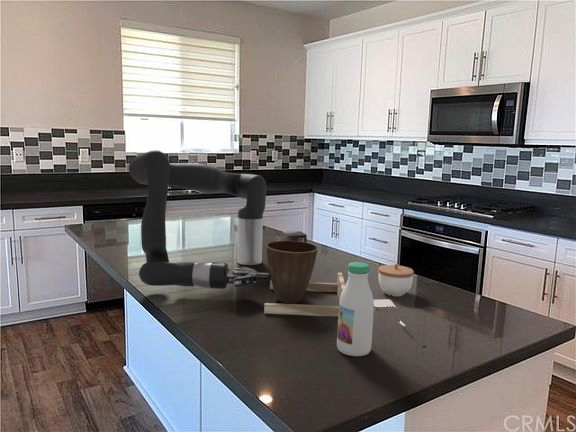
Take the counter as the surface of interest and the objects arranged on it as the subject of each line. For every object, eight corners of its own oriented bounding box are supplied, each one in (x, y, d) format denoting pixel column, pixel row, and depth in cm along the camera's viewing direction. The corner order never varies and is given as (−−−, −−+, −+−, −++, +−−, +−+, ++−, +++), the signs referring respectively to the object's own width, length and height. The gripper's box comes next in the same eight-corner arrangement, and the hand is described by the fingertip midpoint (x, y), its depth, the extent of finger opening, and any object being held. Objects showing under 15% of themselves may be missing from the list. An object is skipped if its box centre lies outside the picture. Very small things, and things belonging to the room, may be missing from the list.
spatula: (390, 304, 136) (390, 299, 136) (436, 348, 107) (436, 342, 107) (370, 304, 135) (370, 299, 135) (411, 349, 106) (412, 343, 106)
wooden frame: (270, 288, 145) (270, 269, 144) (340, 291, 144) (341, 272, 143) (264, 313, 124) (264, 292, 123) (346, 317, 123) (348, 295, 122)
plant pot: (261, 306, 128) (265, 250, 125) (264, 289, 143) (267, 238, 140) (315, 309, 128) (319, 253, 126) (312, 292, 143) (316, 242, 140)
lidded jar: (370, 289, 147) (372, 260, 146) (399, 286, 151) (401, 258, 150) (389, 300, 137) (391, 270, 136) (419, 297, 141) (421, 267, 140)
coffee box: (300, 276, 158) (302, 230, 156) (306, 282, 152) (307, 234, 150) (274, 277, 156) (275, 231, 153) (279, 283, 150) (280, 235, 147)
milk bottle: (367, 342, 108) (372, 259, 105) (374, 357, 101) (380, 269, 97) (334, 341, 108) (338, 259, 105) (339, 357, 100) (344, 268, 97)
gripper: (205, 268, 127) (268, 271, 126) (215, 257, 140) (272, 259, 139) (205, 295, 128) (267, 297, 127) (215, 280, 141) (271, 283, 140)
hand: (269, 277), depth 133 cm, fingers closed
